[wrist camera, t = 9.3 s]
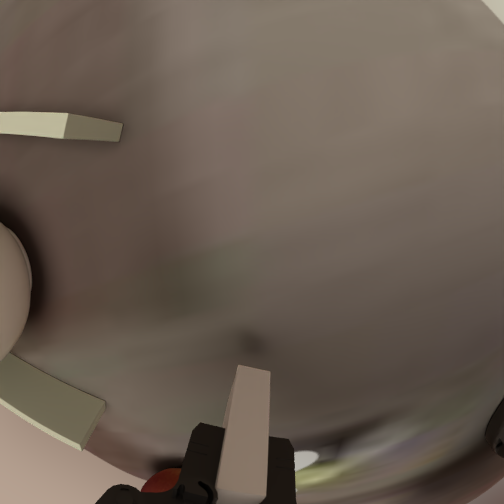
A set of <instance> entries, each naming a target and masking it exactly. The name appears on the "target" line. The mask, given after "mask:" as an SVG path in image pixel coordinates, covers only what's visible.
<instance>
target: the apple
mask: <svg viewBox="0 0 504 504" xmlns="http://www.w3.org/2000/svg"><path fill="white" fill-rule="evenodd" d="M180 472H181V468H169V469H165V470H163V471H160V472H158V473H157V474H155V475H154V476H152V477H151V478H150V479H149V480H148V481H147V482H146V483H145V484H144V486H143V487H142V489H141V492H155V493H157V492H165V491H168V490H170V489H171V488H173V487H174V486H175V484H176V483H177V481H178V479H179V475H180Z"/></svg>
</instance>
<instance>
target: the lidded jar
mask: <svg viewBox="0 0 504 504" xmlns="http://www.w3.org/2000/svg"><path fill="white" fill-rule="evenodd" d="M31 289H32V272H31V266H30V262H29V259H28V256H27V253H26V251H25V249H24V247H23V245H22V243H21V241H20V240H19V238H18V237H17V236H16V234H15V233H14V232H13V231H12V230H10V229H9V228H7V227H5V226H4V225H3V224H2V223H1V222H0V362H1V361H2V360H3V359H4V358H5V357H6V356H7V355H8V353H9V352H10V351H11V349H12V348H13V347H14V345H15V344H16V342H17V340H18V339H19V337H20V335H21V334H22V332H23V329H24V327H25V324H26V321H27V318H28V314H29V308H30V295H31Z"/></svg>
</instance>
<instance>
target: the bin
mask: <svg viewBox="0 0 504 504" xmlns="http://www.w3.org/2000/svg"><path fill="white" fill-rule="evenodd" d="M122 127H123V124H122V123H117V122H113V121H108V120H103V119H97V118H92V117H87V116H81V115H75V114H69V113H50V112H0V133H4V134H19V135H31V136H42V137H52V138H61V139H82V140H99V141H113V142H119V140H120V136H121V131H122ZM0 404H2V405H3V406H5V407H6V408H7V409H9V410H10V411H12V412H13V413H15V414H17V415H18V416H19V417H21V418H22V419H24V420H26V421H27V422H29V423H30V424H32V425H34V426H35V427H37V428H39V429H40V430H42V431H44V432H46V433H47V434H49V435H51V436H53V437H55V438H56V439H58V440H60V441H62V442H64V443H66V444H68V445H70V446H72V447H74V448H76V449H78V450H80V451H83V449H84V447H85V445H86V443H87V442H88V440H89V438H90V436H91V434H92V432H93V431H94V429H95V427H96V425H97V423H98V422H99V420H100V418H101V416H102V415H103V413H104V411H105V409H106V406H105V401H103V400H101V399H99V398H96V397H94V396H92V395H89V394H87V393H85V392H83V391H80V390H78V389H76V388H74V387H72V386H70V385H68V384H65V383H63V382H61V381H59V380H57V379H55V378H54V377H52V376H50V375H48V374H46V373H44V372H42V371H40V370H39V369H37V368H35V367H33V366H31V365H30V364H28V363H26V362H24V361H23V360H21V359H19V358H18V357H16V356H14V355H13V354H11V353H10V352H9V353H8V355H7V356H6V357H5V358H4V359H3V360H2V361H1V362H0Z"/></svg>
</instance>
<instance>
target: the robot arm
mask: <svg viewBox="0 0 504 504" xmlns="http://www.w3.org/2000/svg"><path fill="white" fill-rule="evenodd" d="M269 407H270V371H265V370H261V369H256V368H251V367H247V366H243V365H238V367H237V371H236V374H235V378H234V381H233V384H232V388H231V391H230V395H229V398H228V401H227V405H226V410H225V416H224V421H223V426H222V428H221V427H217V426H213V425H209V424H205V423H201V422H200V423H199V424H198V425H197V426H196V427H195V428H194V429H193V431H192V434H191V437H190V441H189V444H188V448H187V451H186V454H185V458H184V461H183V465H182V468H181V472H180V475H179V479H178V481H177V483H176V484H175V486H174V487H173V488H171V489H170V490H168V491H165V492H157V493H155V492H140V491H139V490H137V489H136V488H134V487H132V486H130V485H123V484H120V485H115V486H112V487H111V488H109V489H108V490H107V491H106V492H105V493H104V494H103V495H102V497H101V498H100V499H99V500H98V501H97V502H96V503H95V504H297V503H296V490H295V470H294V469H295V463H294V448H293V447H292V445H291V443H290V441H289V439H284V438H277V437H270V436H269ZM485 437H486V440H487V441H488V443H489V445H490V446H491V448H492V450H493V451H494V452H495V453H497V454H498V455H500V456H501V457H502V458H504V400H503V402H502V403H501V404H500V406H499V407H498V409H497V410H496V412H495V414H494V415H493V417H492V419H491V421H490V423H489V425H488V427H487V430H486V435H485Z"/></svg>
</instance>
